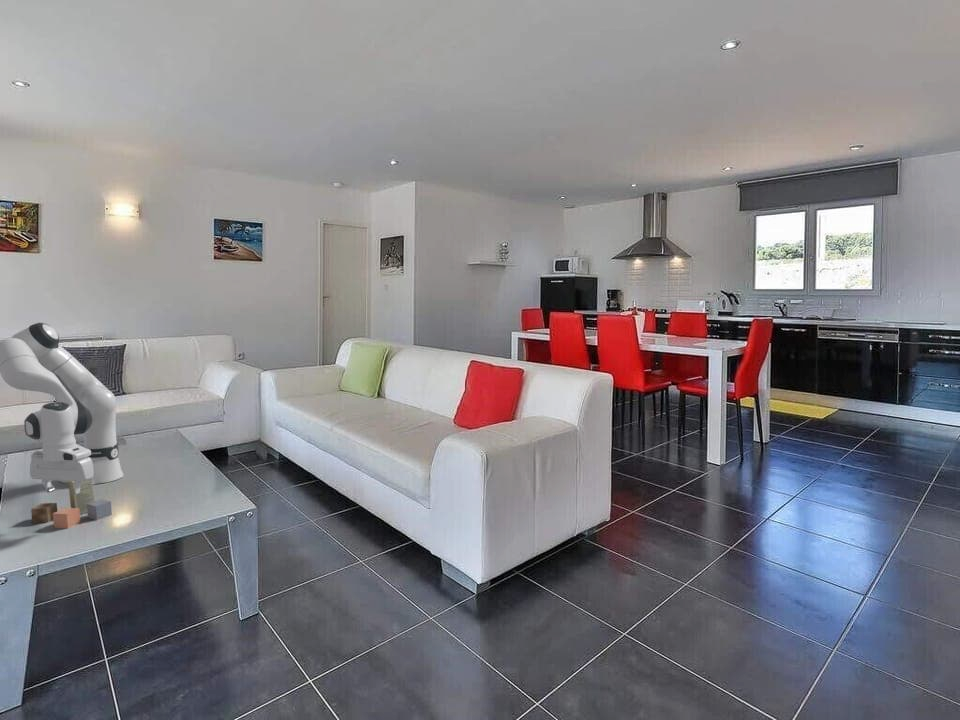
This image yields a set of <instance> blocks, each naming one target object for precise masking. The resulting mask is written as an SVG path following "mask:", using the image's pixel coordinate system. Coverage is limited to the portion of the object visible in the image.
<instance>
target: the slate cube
mask: <svg viewBox="0 0 960 720" xmlns="http://www.w3.org/2000/svg"><path fill="white" fill-rule="evenodd" d="M112 510H113V509H112V501H111V500H106V499H103V498H102V499H98V500H95V501H94V502H91V503H88V504H87V512H86V513H87V518H88V519H92V520H95V521H98V520H101V519H102V520H103V519H104V518H107V517H110V516H112V515H113V513H112V512H113V511H112Z"/></svg>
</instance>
